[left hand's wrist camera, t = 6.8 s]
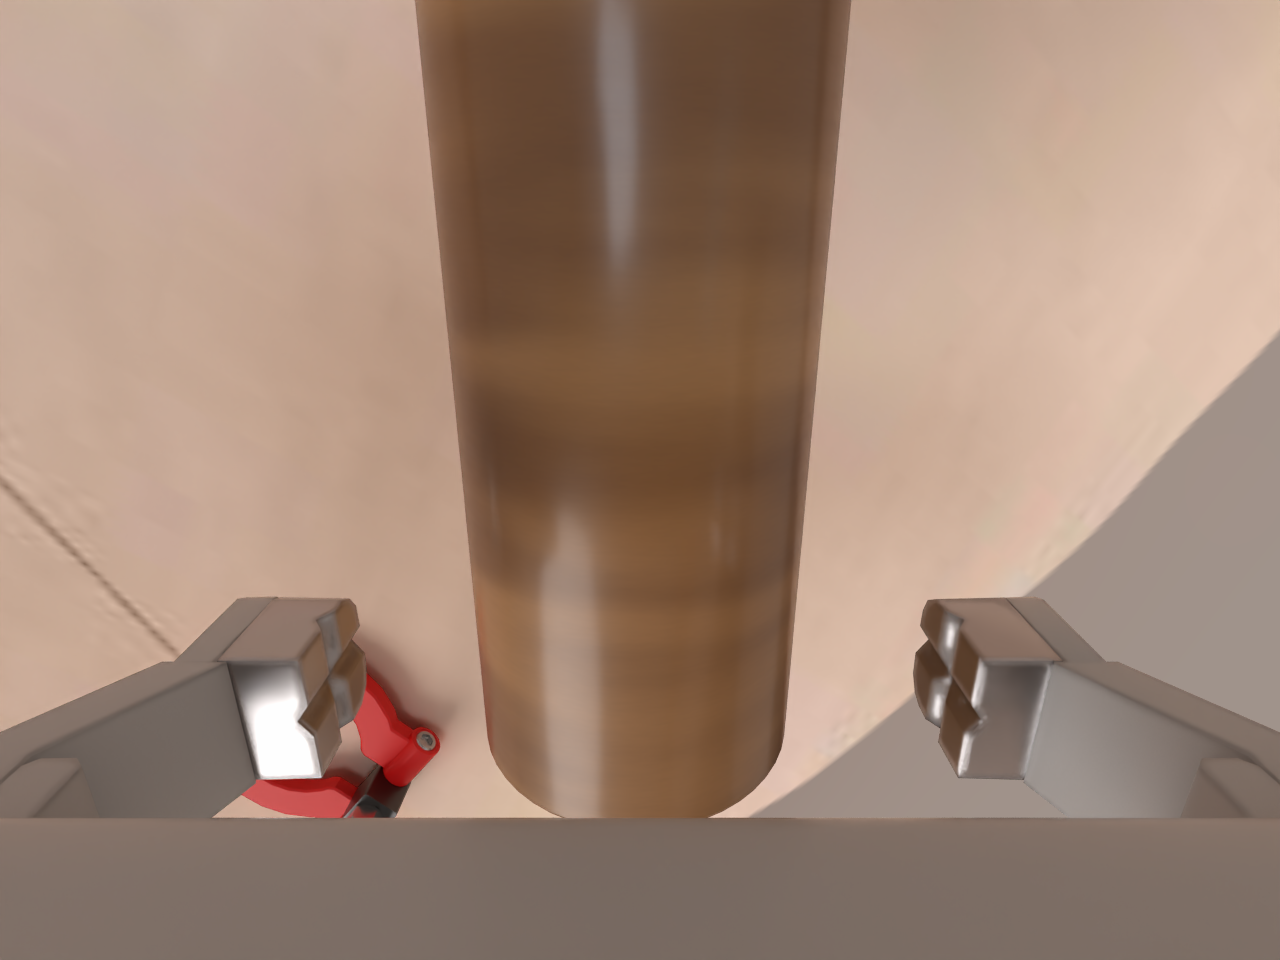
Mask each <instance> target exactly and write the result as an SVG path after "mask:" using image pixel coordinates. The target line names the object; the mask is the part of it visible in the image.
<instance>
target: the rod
mask: <svg viewBox="0 0 1280 960" xmlns="http://www.w3.org/2000/svg"><path fill="white" fill-rule="evenodd" d="M415 5H416V15H417V25H418V35H419V45H420V55H421V66H422V76H423V86H424V96H425V106H426V116H427V126H428V137H429V147H430V157H431V167H432V177H433V187H434V197H435V208H436V218H437V228H438V238H439V248H440V258H441V268H442V279H443V289H444V299H445V309H446V319H447V329H448V339H449V350H450V360H451V370H452V380H453V390H454V400H455V410H456V421H457V431H458V441H459V451H460V461H461V471H462V481H463V492H464V502H465V512H466V522H467V532H468V542H469V552H470V563H471V573H472V583H473V593H474V603H475V613H476V623H477V634H478V644H479V654H480V664H481V674H482V684H483V694H484V705H485V715H486V725H487V735H488V741H489V745H490V750H491V753H492V755H493V757H494V760H495V762H496V764H497V766H498V767H499V769H500V770H501V772H502V773H503V775H504V776H505V778H506V779H507V780H508V781H509V782H510V783H511V784H512V785H513V786H514V787H515V788H516V790H517V791H518V792H520V793H521V794H522V795H524V796H525V797H526V798H527V799H529V800H530V801H531V802H533V803H534V804H536V805H538V806H540V807H541V808H543V809H545V810H547V811H548V812H550V813H552V814H555V815H557V816H560V817H562V818H708V817H710V816H713V815H715V814H717V813H720V812H722V811H724V810H726V809H727V808H729V807H731V806H732V805H734V804H736V803H738V802H739V801H741V800H742V799H743V798H744V797H746V796H747V795H748V794H750V793H751V792H752V791H753V790H754V789H755V788H756V787H757V786H758V785H759V784H760V783H761V782H762V781H763V780H764V779H765V777H766V776H767V775H768V773H769V772H770V770H771V769H772V767H773V766H774V764H775V762H776V760H777V758H778V755H779V753H780V751H781V747H782V743H783V738H784V730H785V719H786V708H787V697H788V686H789V675H790V664H791V654H792V643H793V632H794V621H795V610H796V599H797V588H798V577H799V566H800V555H801V544H802V533H803V522H804V511H805V500H806V489H807V478H808V467H809V456H810V446H811V435H812V424H813V413H814V402H815V391H816V380H817V369H818V358H819V347H820V336H821V325H822V314H823V303H824V292H825V281H826V270H827V259H828V249H829V238H830V227H831V216H832V205H833V194H834V183H835V172H836V161H837V150H838V139H839V128H840V117H841V106H842V95H843V84H844V73H845V62H846V51H847V41H848V30H849V19H850V8H851V0H415Z"/></svg>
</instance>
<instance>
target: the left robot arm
mask: <svg viewBox="0 0 1280 960" xmlns="http://www.w3.org/2000/svg"><path fill="white" fill-rule="evenodd" d="M359 626H360V624H359V619H358V614H357V609H356V605H355V604H354V603H353V602H352V601H351V600H350V599H341V598H289V597H281V598H278V597H246V598H240V599H237V600H236V601H235V602H234V603H233V604H232V605H231V606H230V607H229V608H228V609H227V610H226V611H225V612H224V613H223V614H222V615H221V616H220V617H219V618H218V619H217V620H216V621H215V622H214V623H213V624H212V625H211V626H210V627H209V628H208V629H207V630H205V631H204V632H203V633H202V634H201V635H200V636H199V637H198V638H197V639H196V640H195V641H194V642H193V643H192V644H191V645H190V646H189V647H188V648H187V649H186V650H185V651H184V652H183V653H182V654H181V655H180V656H179V657H178V658H177V659H176V660H175V661H174V662H161V663H158V664H156V665H154V666H151V667H149V668H147V669H144V670H142V671H140V672H138V673H135V674H133V675H131V676H128V677H126V678H124V679H121V680H119V681H117V682H115V683H112V684H110V685H108V686H105V687H103V688H101V689H98V690H96V691H94V692H92V693H89V694H87V695H85V696H82V697H80V698H78V699H75V700H73V701H71V702H69V703H66V704H64V705H62V706H59V707H57V708H55V709H52V710H50V711H48V712H46V713H43V714H41V715H39V716H36V717H34V718H32V719H29V720H27V721H25V722H23V723H20V724H18V725H16V726H13V727H11V728H9V729H6V730H4V731H2V732H0V960H1280V732H1278V731H1275V730H1273V729H1271V728H1268V727H1266V726H1264V725H1262V724H1259V723H1257V722H1255V721H1252V720H1250V719H1248V718H1246V717H1243V716H1241V715H1239V714H1236V713H1234V712H1232V711H1230V710H1227V709H1225V708H1223V707H1220V706H1218V705H1216V704H1213V703H1211V702H1209V701H1207V700H1204V699H1202V698H1200V697H1197V696H1195V695H1193V694H1191V693H1188V692H1186V691H1184V690H1181V689H1179V688H1177V687H1175V686H1172V685H1170V684H1168V683H1165V682H1163V681H1161V680H1158V679H1156V678H1154V677H1151V676H1149V675H1147V674H1145V673H1142V672H1140V671H1138V670H1135V669H1133V668H1131V667H1129V666H1126V665H1124V664H1122V663H1119V662H1106V661H1105V660H1104V659H1103V658H1102V657H1101V656H1100V655H1099V654H1098V653H1097V652H1096V651H1095V650H1094V649H1093V648H1092V647H1091V646H1090V645H1089V644H1088V643H1087V642H1086V641H1085V640H1084V639H1083V638H1082V637H1081V636H1080V635H1079V634H1078V633H1077V632H1076V631H1075V630H1074V629H1073V628H1072V627H1071V626H1070V625H1069V624H1068V623H1067V622H1066V621H1065V620H1064V619H1062V617H1061V616H1060V615H1059V614H1057V613H1056V612H1055V611H1054V610H1053V609H1052V608H1051V607H1050V606H1049V605H1048V604H1047V603H1046V602H1045V601H1044V600H1043V599H1040V598H1037V597H1010V598H968V599H934V600H928V601H927V603H926V605H925V607H924V609H923V613H922V618H921V624H920V626H921V628H922V630H923V631H924V633H925V634H926V636H927V637H928V639H929V640H928V641H927V642H926V643H925V644H924V645H923V646H922V647H921V648H920V649H919V650H918V651H917V652H916V654H915V662H914V670H913V677H914V689H915V695H916V698H917V701H918V704H919V707H920V709H921V711H922V713H923V715H924V717H925V719H926V720H928V721H930V722H931V723H933V724H934V725H936V726H937V727H939V728H940V734H939V740H938V743H939V744H940V746H941V748H942V750H943V752H944V753H945V755H946V757H947V759H948V761H949V762H950V764H951V766H952V768H953V770H954V771H955V773H956V775H957V777H958V778H976V779H1013V780H1024V783H1025V784H1026V785H1027V786H1029V787H1030V788H1031V789H1032V790H1034V791H1035V792H1036V793H1038V794H1039V795H1040V796H1041V797H1043V798H1044V799H1045V800H1047V801H1048V802H1049V803H1050V804H1052V805H1053V806H1054V807H1056V808H1057V809H1058V810H1060V811H1061V812H1062V813H1063V814H1065V815H1066V816H1067V817H1069V818H212V817H213V816H214V815H216V814H217V813H218V812H219V811H221V810H222V809H223V808H225V807H226V806H227V805H228V804H230V803H231V802H232V801H234V800H235V799H236V798H238V797H239V796H240V795H241V794H243V793H244V792H245V791H247V790H248V789H249V788H250V787H252V786H253V785H254V784H256V780H267V779H302V778H322V777H323V775H324V773H325V771H326V770H327V768H328V766H329V764H330V762H331V761H332V759H333V757H334V755H335V753H336V752H337V750H338V748H339V746H340V744H341V743H342V740H341V734H340V728H341V727H343V726H344V725H346V724H347V723H349V722H350V721H352V720H354V719H355V717H356V715H357V713H358V711H359V709H360V707H361V705H362V701H363V697H364V693H365V688H366V673H367V667H366V661H365V654H364V652H363V651H362V650H361V649H360V648H359V647H358V646H357V645H356V644H355V643H354V642H353V641H352V640H351V639H352V637H353V636H354V634H355V633H356V631H357V630H358V628H359Z"/></svg>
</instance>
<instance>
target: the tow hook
mask: <svg viewBox="0 0 1280 960" xmlns="http://www.w3.org/2000/svg"><path fill="white" fill-rule="evenodd" d="M354 722H355V724H356V725H357V728H358V732H359V735H360V738H361V751H362V753H363V754H364V755H365V756H366V757H368V758H369V759H371V760H372V761H374V762H376V763H377V764H379V765H378V766H377V767H376V768H375V769H374V770H373V772H372V773H371V774H370V775H369V776H368V777H367V778H366V779H365V780H364V782H363V783H362V784H361V785H360V786H359V787H358V788H357V787H356V786H354V785H352V784H351V783H349V782H348V781H346V780H345V779H343V778H341V777H331V778H328V779H317V780H309V779H267V780H256V784H254V785H253V786H252V787H250V788H249V789H248V790H247V791H245V792H244V793H243V794H241V795H243V796H245V797H246V798H248V799H250V800H252V801H253V802H255V803H257V804H259V805H261V806H263V807H266V808H269V809H272V810H275V811H278V812H281V813H284V814H289V815H297V816H305V817H315V818H395V817H396V815H397V813H398V811H399V808H400V806H401V804H402V802H403V799H404V797H405V795H406V793H407V790H408V788H409V786H410V784H411V780H412V779H413V778H414V777H415V776H416V775H417V774H418V773H419V772H420V771H421V770H422V769H423V768H424V766H425V765H426V764H427V763H428V762H429V761H430V760H431V759H432V758H433V757H434V756H435V755H436V754H437V753H438V751H439V749H440V742H439V739H438V737H437V736H436V734H435V733H434V732H432V731H431V730H430V729H428V728H425V727H418V728H416V729H414V730H413V729H411V728H410V727H408V726H407V725H405V724H404V723H402V722H401V721H399V720H398V718H397V715H396V711H395V708H394V707H393V705H392V703H391V702H390V700H389V698H388V697H387V695H386V694H385V692H384V690H383V689H382V687H380V686H379V685H378V684H377V683H376V682H375V681H374V680H373V679H372V678H371V677H370V676H369V675H368V674H367V673H366V688H365V693H364V697H363V701H362V705H361V707H360V709H359V711H358V713H357V715H356V717H355V719H354Z"/></svg>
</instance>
